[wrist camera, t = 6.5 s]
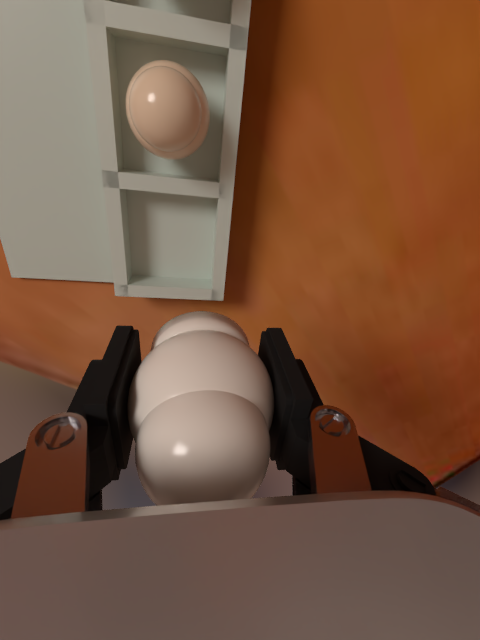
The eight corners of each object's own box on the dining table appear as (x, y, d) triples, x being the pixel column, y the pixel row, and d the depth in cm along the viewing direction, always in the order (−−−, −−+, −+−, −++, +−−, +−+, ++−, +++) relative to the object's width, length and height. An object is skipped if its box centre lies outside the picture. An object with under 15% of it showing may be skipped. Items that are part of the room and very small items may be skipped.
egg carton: (-146, -288, 12) (-233, -397, 10) (260, -168, 15) (272, -229, 13) (14, 274, 25) (-6, 290, 23) (220, 285, 28) (223, 300, 25)
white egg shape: (266, 303, 12) (327, 441, 6) (251, 395, 14) (287, 550, 9) (136, 300, 11) (80, 453, 6) (144, 398, 13) (112, 569, 8)
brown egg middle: (210, 76, 19) (215, 53, 14) (206, 161, 22) (209, 169, 16) (131, 63, 18) (105, 33, 13) (136, 152, 21) (115, 158, 16)
